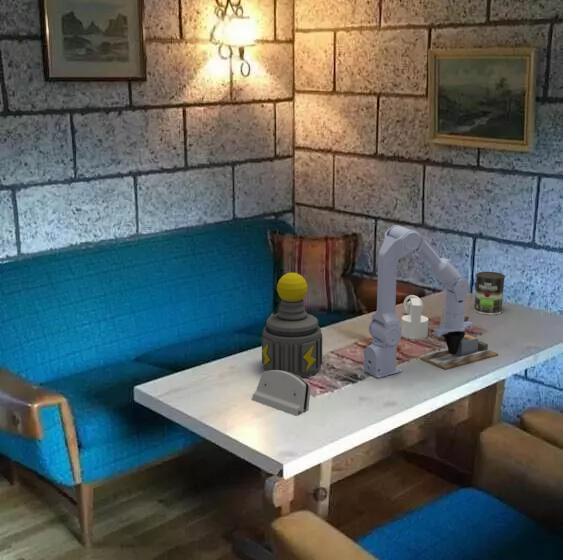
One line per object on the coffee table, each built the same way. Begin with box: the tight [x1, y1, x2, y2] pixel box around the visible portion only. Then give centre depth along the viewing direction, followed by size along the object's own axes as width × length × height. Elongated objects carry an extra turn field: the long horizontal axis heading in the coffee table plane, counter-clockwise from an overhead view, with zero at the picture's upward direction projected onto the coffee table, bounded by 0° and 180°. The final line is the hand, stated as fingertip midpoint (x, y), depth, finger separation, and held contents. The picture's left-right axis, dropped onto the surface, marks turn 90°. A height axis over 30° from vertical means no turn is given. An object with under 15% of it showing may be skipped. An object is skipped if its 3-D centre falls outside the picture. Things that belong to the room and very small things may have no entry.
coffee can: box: [473, 271, 506, 316], centre depth 294 cm, size 10×10×14 cm
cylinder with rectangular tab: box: [400, 297, 429, 340], centre depth 267 cm, size 9×9×12 cm
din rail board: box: [419, 340, 499, 371], centre depth 247 cm, size 23×11×4 cm, turn 122°
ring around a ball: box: [402, 294, 424, 315], centre depth 289 cm, size 8×6×8 cm
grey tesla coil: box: [261, 272, 323, 379], centre depth 236 cm, size 19×19×30 cm
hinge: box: [251, 370, 312, 417], centre depth 213 cm, size 17×5×10 cm, turn 49°
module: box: [455, 334, 479, 357], centre depth 248 cm, size 7×4×5 cm, turn 122°
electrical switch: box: [438, 308, 470, 337], centre depth 266 cm, size 9×5×9 cm, turn 35°
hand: (452, 353), depth 246 cm, fingers closed
